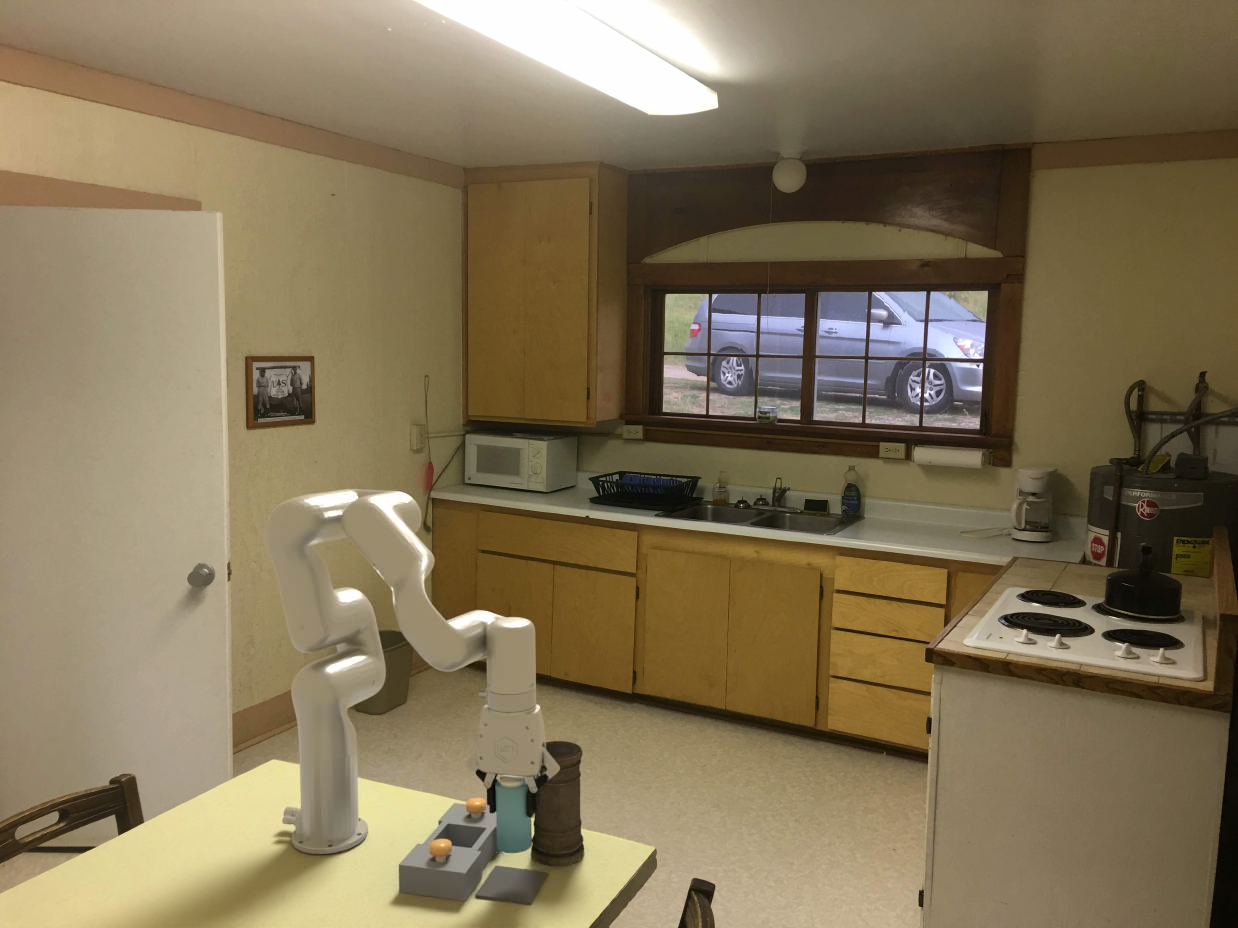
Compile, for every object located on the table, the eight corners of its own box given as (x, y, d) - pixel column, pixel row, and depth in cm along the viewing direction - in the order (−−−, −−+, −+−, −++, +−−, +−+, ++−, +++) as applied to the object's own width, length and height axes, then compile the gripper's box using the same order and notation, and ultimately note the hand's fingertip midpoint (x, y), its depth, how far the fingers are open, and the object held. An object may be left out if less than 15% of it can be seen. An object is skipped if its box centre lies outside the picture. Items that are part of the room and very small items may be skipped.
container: (577, 869, 152) (577, 762, 151) (524, 863, 154) (523, 757, 152) (589, 842, 161) (590, 741, 159) (539, 837, 163) (539, 737, 161)
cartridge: (492, 851, 144) (490, 783, 144) (504, 835, 150) (502, 769, 149) (525, 854, 143) (523, 785, 142) (536, 838, 148) (534, 771, 148)
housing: (399, 891, 145) (398, 864, 145) (454, 827, 166) (454, 802, 166) (465, 901, 143) (465, 872, 142) (513, 833, 164) (512, 809, 163)
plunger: (426, 885, 146) (425, 847, 145) (435, 874, 149) (434, 837, 149) (446, 888, 145) (446, 850, 145) (455, 877, 148) (454, 839, 148)
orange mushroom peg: (463, 840, 160) (462, 805, 160) (470, 830, 164) (470, 796, 163) (482, 842, 160) (481, 807, 159) (489, 832, 163) (488, 798, 162)
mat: (475, 896, 144) (475, 894, 144) (495, 867, 153) (495, 865, 153) (530, 904, 142) (530, 901, 142) (548, 874, 151) (548, 871, 151)
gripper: (450, 702, 143) (452, 816, 144) (558, 710, 139) (559, 828, 141) (468, 687, 150) (471, 796, 152) (571, 694, 146) (572, 806, 148)
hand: (513, 810), depth 146 cm, fingers closed on cartridge, 5 cm apart
